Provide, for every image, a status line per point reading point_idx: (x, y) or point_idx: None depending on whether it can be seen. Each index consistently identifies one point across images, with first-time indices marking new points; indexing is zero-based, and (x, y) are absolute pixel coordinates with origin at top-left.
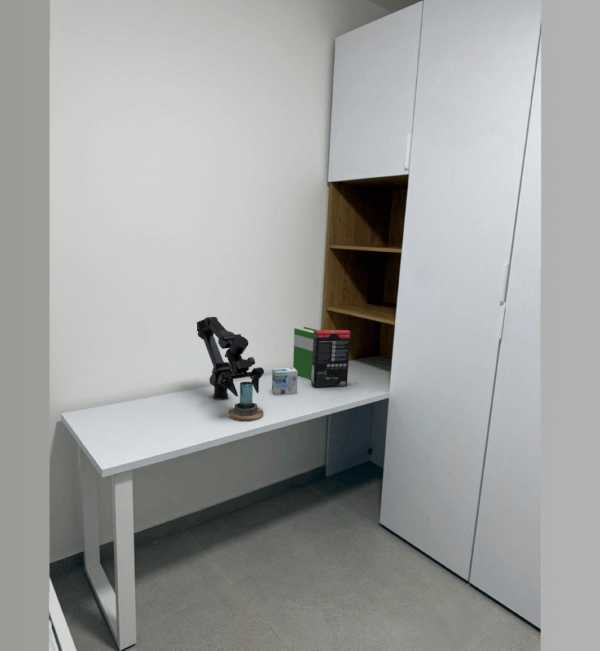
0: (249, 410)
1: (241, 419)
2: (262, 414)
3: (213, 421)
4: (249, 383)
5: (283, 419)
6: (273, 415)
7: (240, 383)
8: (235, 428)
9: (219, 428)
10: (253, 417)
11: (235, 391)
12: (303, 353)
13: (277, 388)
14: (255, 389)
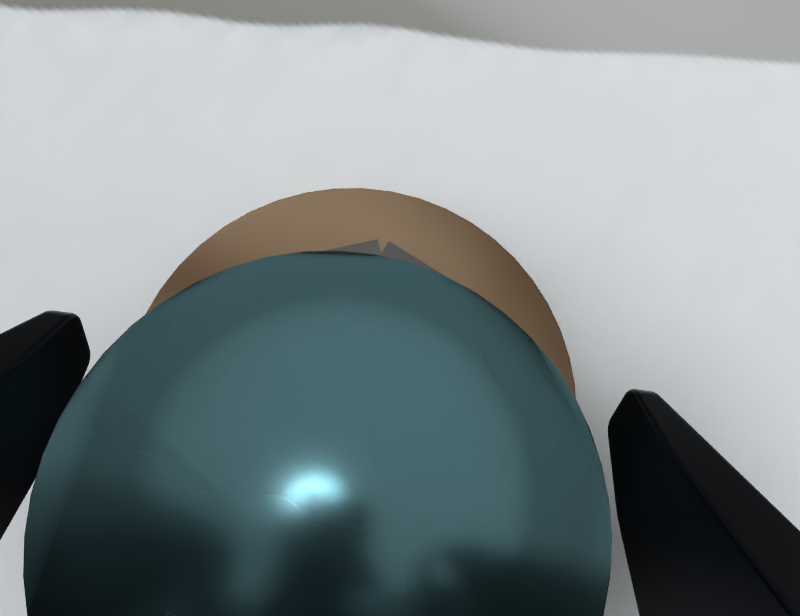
0: (405, 252)
1: (514, 266)
2: (226, 227)
3: (760, 455)
4: (205, 459)
5: (86, 29)
6: (96, 193)
7: None
8: (660, 152)
9: (793, 251)
10: (385, 201)
11: (725, 467)
12: None
13: None
14: (29, 457)
